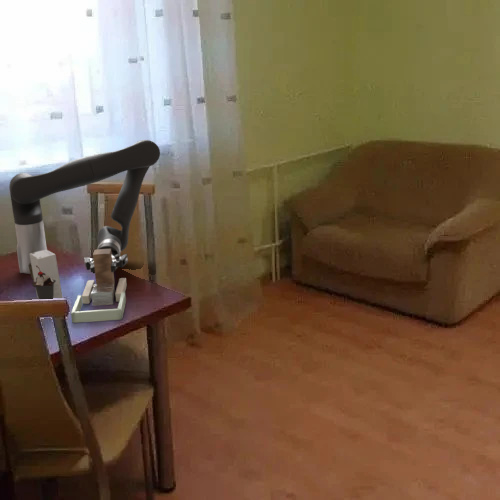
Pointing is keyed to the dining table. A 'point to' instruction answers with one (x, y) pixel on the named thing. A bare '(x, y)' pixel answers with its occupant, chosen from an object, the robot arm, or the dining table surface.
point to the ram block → (103, 266)
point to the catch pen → (97, 312)
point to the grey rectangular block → (102, 296)
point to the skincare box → (46, 268)
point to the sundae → (44, 286)
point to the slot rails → (89, 287)
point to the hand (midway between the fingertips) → (102, 269)
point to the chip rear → (105, 286)
